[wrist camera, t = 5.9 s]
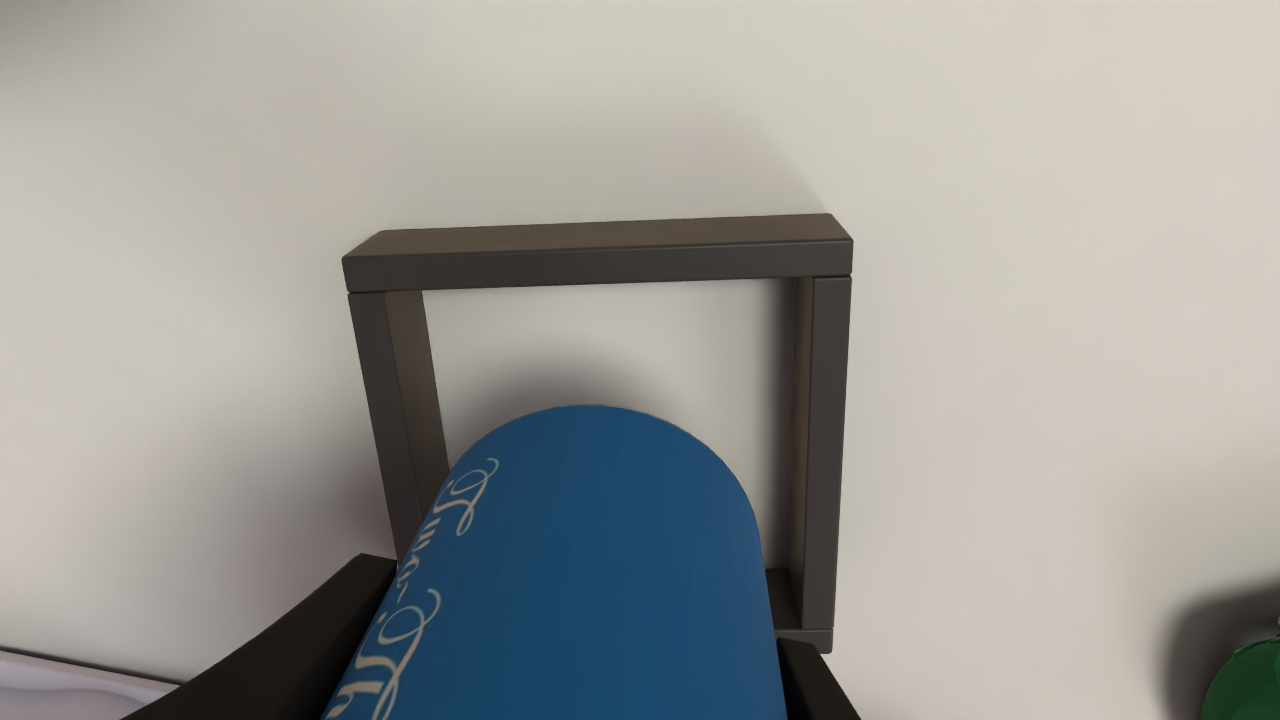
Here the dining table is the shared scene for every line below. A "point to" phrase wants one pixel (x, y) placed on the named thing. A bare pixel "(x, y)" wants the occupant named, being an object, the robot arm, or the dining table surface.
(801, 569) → the holder
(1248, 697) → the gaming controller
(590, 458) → the beverage can
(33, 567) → the dining table surface
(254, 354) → the dining table surface
